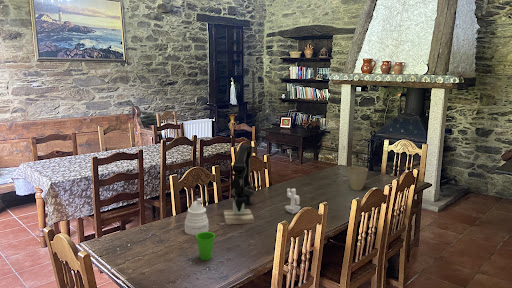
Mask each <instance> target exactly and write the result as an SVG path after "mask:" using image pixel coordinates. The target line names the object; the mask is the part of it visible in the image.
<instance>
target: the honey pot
mask: <svg viewBox="0 0 512 288" xmlns="http://www.w3.org/2000/svg"><path fill="white" fill-rule="evenodd" d="M202 201H203V198H197V199H196V200H194V201H193V202H192V203H191V205H190V207H189V208H188V209H187V214H186V217H185V220H184V232H185V233H186V234H188V235H190V234H191V235H192V236H196V235H197V234H198V233H200V232H209V219H208V216H207V213H206V212H207V208H206V207H204V206H203V205H202ZM191 235H190V236H191Z"/></svg>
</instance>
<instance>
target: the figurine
mask: <svg viewBox="0 0 512 288" xmlns="http://www.w3.org/2000/svg"><path fill="white" fill-rule="evenodd" d="M286 196H287V198H290V204H287V205H285V206H284V208H285V210H286V211H287V213H289V214H292V215H294V214H296V213H299V211H300V209H301V208H302V207H301V206H299V205H300V200H301V199H300V195H297V190H296V188H287V189H286Z"/></svg>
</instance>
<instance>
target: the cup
mask: <svg viewBox="0 0 512 288" xmlns="http://www.w3.org/2000/svg"><path fill="white" fill-rule="evenodd" d="M215 237H216V234H215V233H214V232H212V231H208V232H200V233H198V234H197V235H195V238H196V243H197V248H198V249H197V250H198V253H199V254H198V255H199V258H200V260H202V261H208V260H210V259H211V258H212V254H213V248H214V242H215Z"/></svg>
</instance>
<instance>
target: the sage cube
mask: <svg viewBox="0 0 512 288" xmlns="http://www.w3.org/2000/svg"><path fill="white" fill-rule="evenodd" d="M244 209H245V205H244V203H243V204H242V207H241V211H240V212H238V209H237V206H236V204H235V201H234V200H233V201H232V210H233V212H234V214H244Z"/></svg>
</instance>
